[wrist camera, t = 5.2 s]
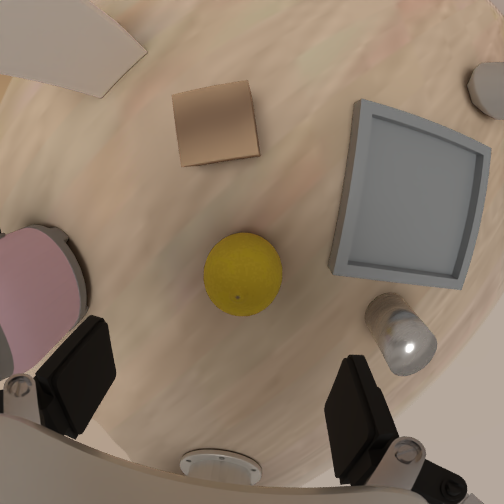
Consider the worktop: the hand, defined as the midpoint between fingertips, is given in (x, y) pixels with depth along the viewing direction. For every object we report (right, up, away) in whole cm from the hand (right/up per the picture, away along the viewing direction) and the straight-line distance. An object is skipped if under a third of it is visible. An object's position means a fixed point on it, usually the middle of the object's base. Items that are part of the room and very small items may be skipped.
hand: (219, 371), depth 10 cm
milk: (-12, +22, +9) cm, 27 cm away
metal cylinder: (+14, -1, +15) cm, 21 cm away
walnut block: (-1, +14, +11) cm, 18 cm away
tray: (+16, +9, +12) cm, 22 cm away
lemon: (+1, +4, +14) cm, 15 cm away
